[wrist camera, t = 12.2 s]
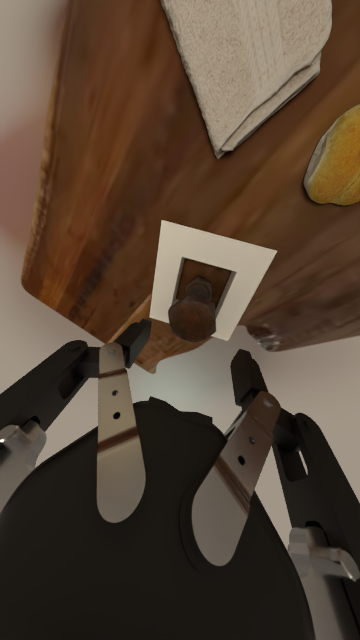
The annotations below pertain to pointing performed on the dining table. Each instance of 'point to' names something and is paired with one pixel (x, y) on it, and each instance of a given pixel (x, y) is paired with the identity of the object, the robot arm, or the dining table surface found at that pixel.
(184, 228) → the collar block
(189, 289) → the bolt
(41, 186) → the dining table surface
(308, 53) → the washcloth
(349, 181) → the bread roll
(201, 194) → the dining table surface
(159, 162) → the dining table surface
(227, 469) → the robot arm
